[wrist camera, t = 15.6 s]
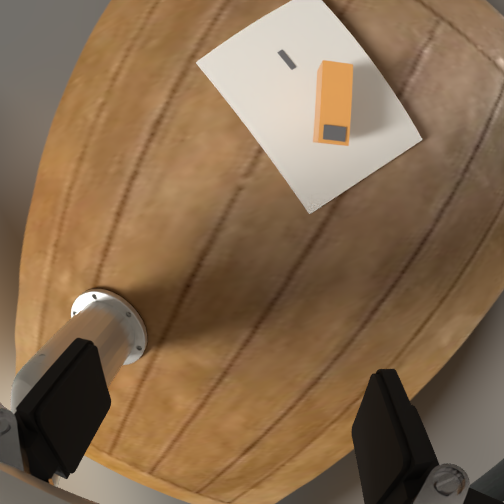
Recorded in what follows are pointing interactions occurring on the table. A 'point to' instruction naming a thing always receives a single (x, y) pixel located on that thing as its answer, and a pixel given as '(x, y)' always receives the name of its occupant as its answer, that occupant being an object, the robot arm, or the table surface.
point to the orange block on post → (333, 103)
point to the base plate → (308, 99)
